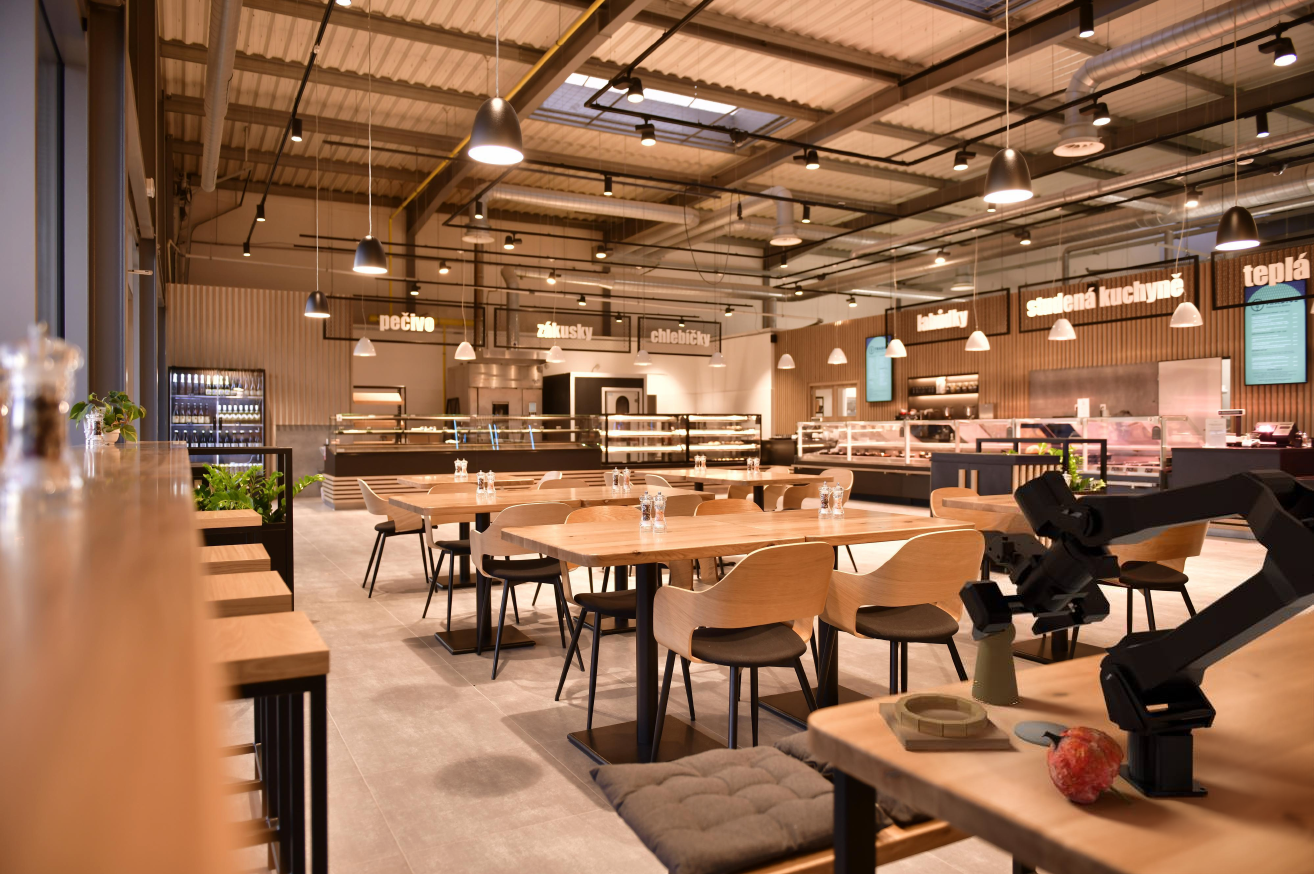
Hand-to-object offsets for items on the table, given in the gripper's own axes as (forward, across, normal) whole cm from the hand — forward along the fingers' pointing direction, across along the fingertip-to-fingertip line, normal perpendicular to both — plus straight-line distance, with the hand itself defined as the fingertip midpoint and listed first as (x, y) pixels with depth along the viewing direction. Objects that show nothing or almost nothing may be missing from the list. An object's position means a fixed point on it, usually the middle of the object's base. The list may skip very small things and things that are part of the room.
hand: (1004, 634), depth 112 cm
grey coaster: (-1, +2, +14) cm, 14 cm away
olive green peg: (+8, 0, +5) cm, 10 cm away
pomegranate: (-12, +10, +25) cm, 29 cm away
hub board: (+2, +14, +11) cm, 17 cm away
